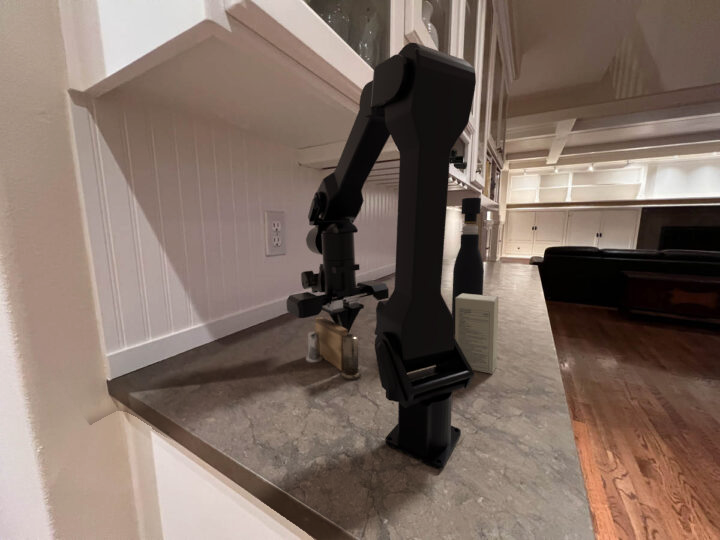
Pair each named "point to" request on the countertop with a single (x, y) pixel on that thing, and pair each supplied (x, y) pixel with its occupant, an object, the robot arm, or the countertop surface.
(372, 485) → the countertop surface
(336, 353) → the gate
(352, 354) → the hinge post
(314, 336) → the post
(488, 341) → the skincare box
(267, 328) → the countertop surface
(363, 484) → the countertop surface
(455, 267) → the wine bottle
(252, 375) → the countertop surface
